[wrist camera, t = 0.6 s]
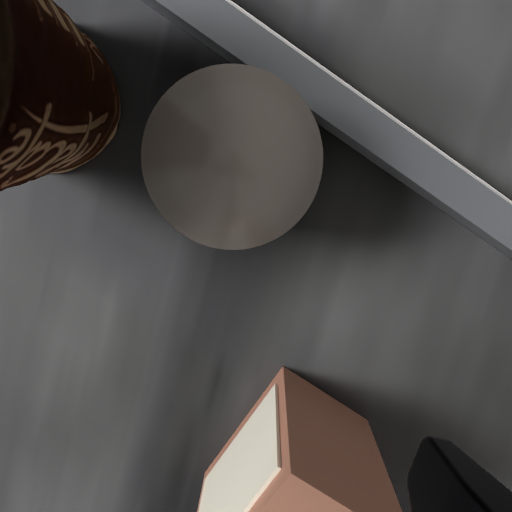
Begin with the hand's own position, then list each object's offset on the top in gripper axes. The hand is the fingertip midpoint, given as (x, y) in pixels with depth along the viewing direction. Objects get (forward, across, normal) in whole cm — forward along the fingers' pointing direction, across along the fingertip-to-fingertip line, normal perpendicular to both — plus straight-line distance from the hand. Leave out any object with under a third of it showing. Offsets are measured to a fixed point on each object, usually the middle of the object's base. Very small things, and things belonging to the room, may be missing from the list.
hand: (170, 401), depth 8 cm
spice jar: (+14, 0, -3) cm, 14 cm away
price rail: (+14, -3, -5) cm, 16 cm away
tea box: (+13, -5, +10) cm, 17 cm away
